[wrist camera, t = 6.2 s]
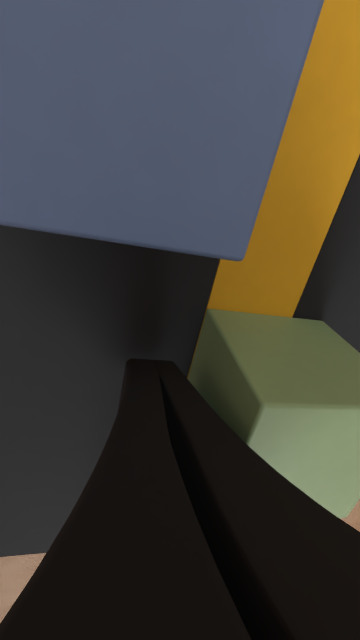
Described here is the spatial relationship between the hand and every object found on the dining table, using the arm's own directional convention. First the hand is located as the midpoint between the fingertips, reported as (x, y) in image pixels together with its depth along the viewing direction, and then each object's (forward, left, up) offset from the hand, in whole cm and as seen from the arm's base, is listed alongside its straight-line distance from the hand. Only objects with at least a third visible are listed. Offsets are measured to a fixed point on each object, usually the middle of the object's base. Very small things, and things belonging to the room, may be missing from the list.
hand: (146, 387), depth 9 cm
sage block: (0, -4, -1) cm, 4 cm away
